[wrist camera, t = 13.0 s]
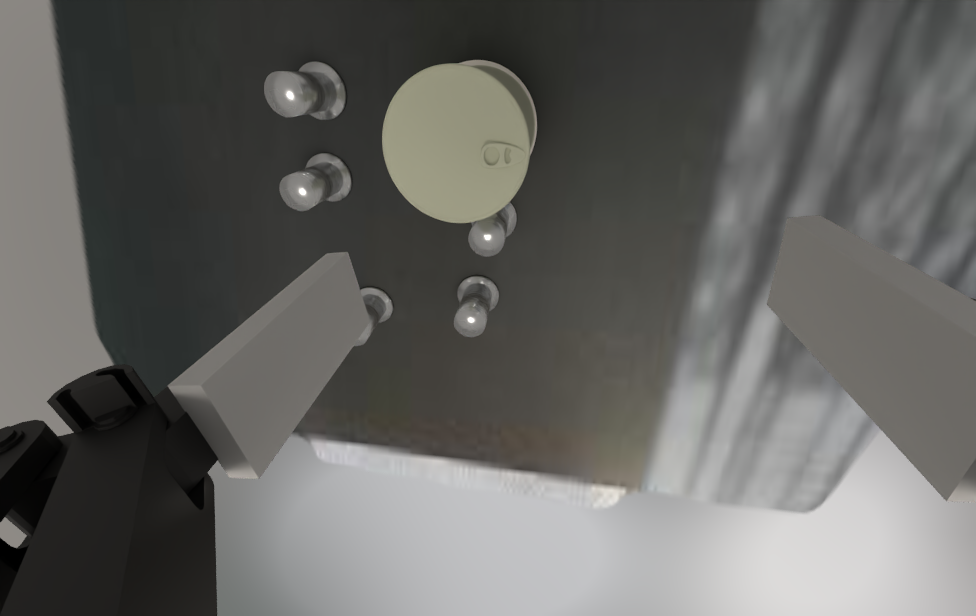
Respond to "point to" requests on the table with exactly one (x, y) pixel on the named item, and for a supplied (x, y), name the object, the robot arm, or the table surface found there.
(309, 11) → the table surface
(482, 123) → the can
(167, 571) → the robot arm
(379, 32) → the table surface
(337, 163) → the posts
